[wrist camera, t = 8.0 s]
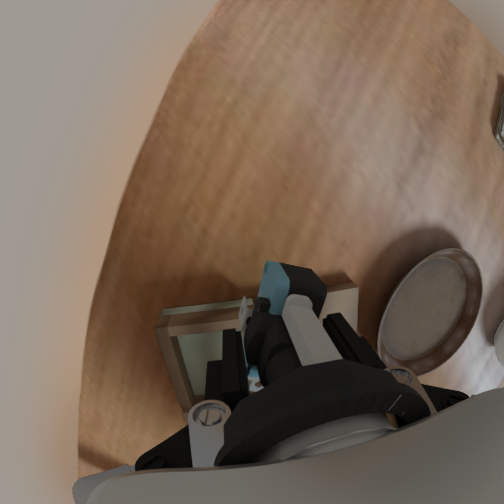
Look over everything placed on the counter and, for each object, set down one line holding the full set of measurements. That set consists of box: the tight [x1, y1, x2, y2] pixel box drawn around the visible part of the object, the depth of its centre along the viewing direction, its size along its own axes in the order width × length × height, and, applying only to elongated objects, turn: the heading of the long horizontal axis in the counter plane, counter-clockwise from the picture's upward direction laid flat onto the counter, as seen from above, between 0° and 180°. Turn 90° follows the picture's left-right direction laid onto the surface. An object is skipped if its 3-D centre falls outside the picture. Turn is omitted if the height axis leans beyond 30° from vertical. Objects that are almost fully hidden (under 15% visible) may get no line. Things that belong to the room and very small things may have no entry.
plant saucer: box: [377, 248, 483, 377], centre depth 31 cm, size 18×18×3 cm
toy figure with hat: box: [214, 260, 431, 466], centre depth 9 cm, size 7×5×10 cm
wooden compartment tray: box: [155, 282, 359, 420], centre depth 29 cm, size 20×12×4 cm, turn 97°
